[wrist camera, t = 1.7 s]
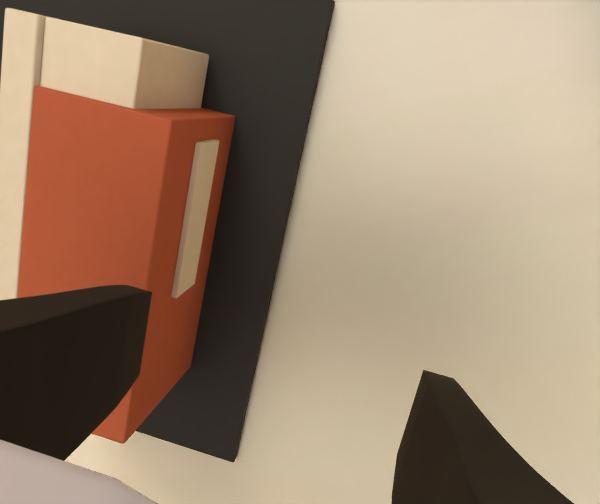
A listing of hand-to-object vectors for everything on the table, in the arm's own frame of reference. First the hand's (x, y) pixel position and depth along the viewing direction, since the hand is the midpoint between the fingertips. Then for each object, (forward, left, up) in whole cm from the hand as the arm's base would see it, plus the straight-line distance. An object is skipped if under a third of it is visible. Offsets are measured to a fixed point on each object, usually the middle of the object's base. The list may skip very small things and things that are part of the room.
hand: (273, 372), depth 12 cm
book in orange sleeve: (0, +7, -9) cm, 11 cm away
